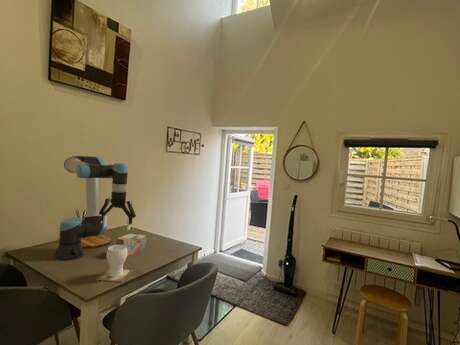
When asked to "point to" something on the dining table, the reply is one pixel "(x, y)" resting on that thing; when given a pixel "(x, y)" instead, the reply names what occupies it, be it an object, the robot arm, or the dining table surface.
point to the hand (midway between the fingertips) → (116, 228)
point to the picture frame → (120, 279)
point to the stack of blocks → (132, 242)
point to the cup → (116, 259)
